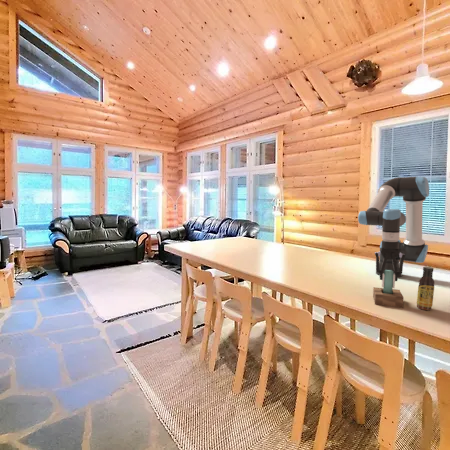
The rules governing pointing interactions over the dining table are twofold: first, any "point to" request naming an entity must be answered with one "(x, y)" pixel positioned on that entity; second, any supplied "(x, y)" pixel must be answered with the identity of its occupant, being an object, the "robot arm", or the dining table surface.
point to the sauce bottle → (426, 289)
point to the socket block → (388, 297)
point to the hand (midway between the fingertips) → (387, 286)
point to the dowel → (388, 282)
